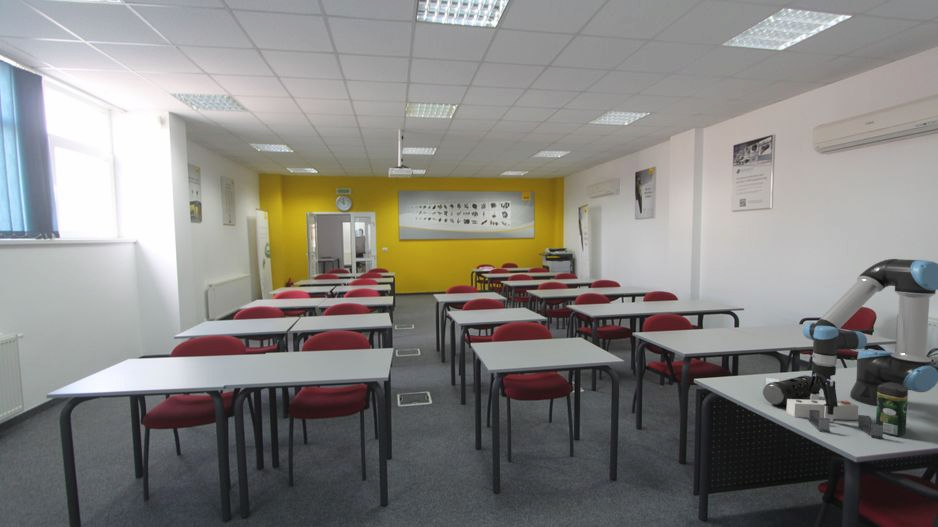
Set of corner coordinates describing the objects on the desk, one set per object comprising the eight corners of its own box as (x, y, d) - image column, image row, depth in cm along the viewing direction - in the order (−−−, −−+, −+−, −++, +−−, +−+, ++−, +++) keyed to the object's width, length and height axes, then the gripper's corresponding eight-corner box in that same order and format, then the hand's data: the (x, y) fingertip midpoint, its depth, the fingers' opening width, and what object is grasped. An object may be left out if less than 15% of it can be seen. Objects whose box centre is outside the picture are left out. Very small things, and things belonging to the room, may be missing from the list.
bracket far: (817, 422, 168) (818, 410, 167) (829, 432, 159) (829, 419, 159) (808, 421, 169) (809, 409, 168) (819, 431, 160) (820, 418, 160)
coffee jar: (879, 424, 166) (882, 378, 165) (907, 432, 159) (911, 384, 158) (871, 430, 161) (874, 383, 160) (901, 439, 154) (904, 389, 153)
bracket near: (867, 428, 163) (868, 415, 162) (882, 439, 154) (883, 425, 154) (858, 427, 164) (859, 414, 163) (872, 437, 155) (872, 424, 155)
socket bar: (847, 415, 176) (848, 399, 175) (857, 420, 171) (858, 404, 170) (786, 412, 178) (787, 397, 177) (794, 417, 173) (795, 402, 173)
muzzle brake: (819, 400, 191) (820, 378, 190) (783, 411, 179) (784, 387, 178) (796, 393, 200) (797, 372, 199) (760, 403, 188) (761, 380, 187)
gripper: (800, 355, 185) (797, 403, 187) (827, 371, 163) (824, 426, 164) (820, 356, 183) (818, 405, 184) (851, 373, 160) (847, 428, 162)
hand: (820, 415), depth 174 cm, fingers open, 12 cm apart
